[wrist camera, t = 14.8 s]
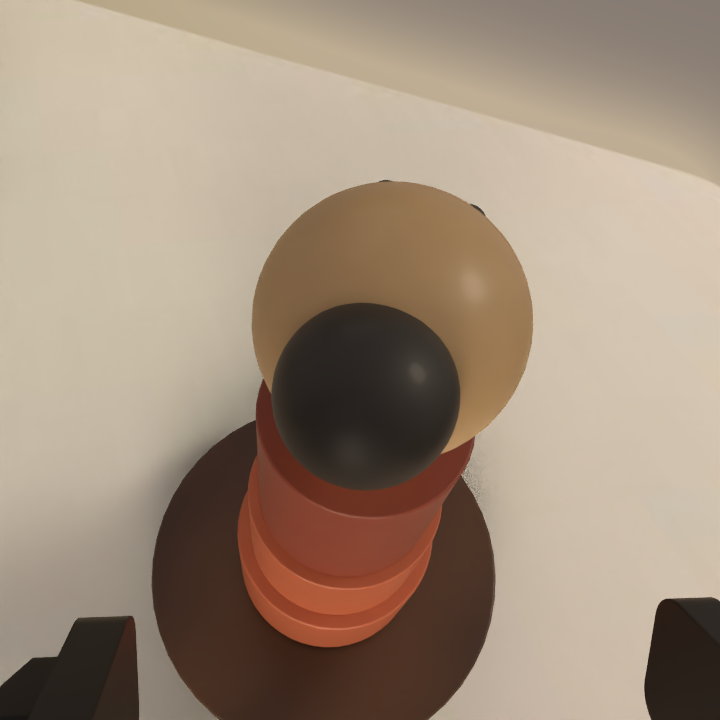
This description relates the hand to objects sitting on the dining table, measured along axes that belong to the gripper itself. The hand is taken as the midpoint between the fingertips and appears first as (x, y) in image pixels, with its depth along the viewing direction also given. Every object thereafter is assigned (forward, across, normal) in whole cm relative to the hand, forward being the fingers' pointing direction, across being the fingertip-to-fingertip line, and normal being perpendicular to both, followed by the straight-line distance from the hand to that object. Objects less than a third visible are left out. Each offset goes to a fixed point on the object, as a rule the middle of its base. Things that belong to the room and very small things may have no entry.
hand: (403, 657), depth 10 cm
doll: (+12, 0, +5) cm, 13 cm away
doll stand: (+14, 0, +7) cm, 16 cm away
